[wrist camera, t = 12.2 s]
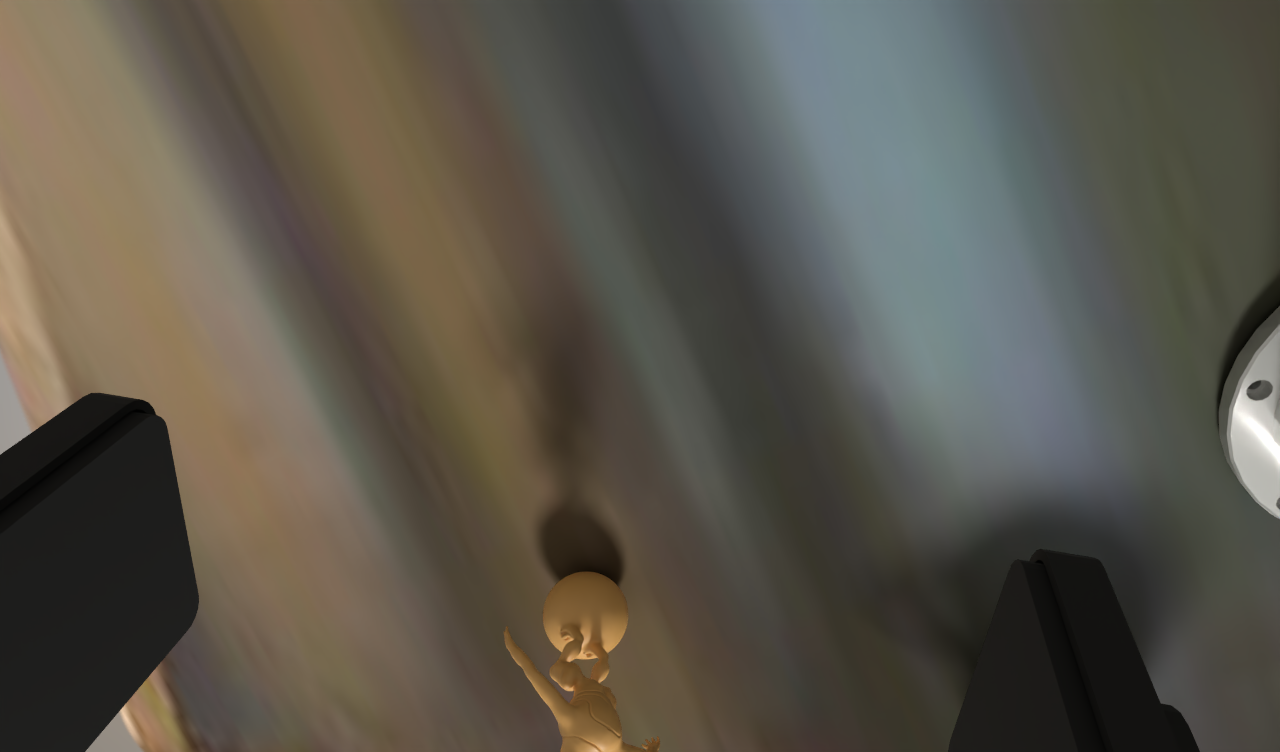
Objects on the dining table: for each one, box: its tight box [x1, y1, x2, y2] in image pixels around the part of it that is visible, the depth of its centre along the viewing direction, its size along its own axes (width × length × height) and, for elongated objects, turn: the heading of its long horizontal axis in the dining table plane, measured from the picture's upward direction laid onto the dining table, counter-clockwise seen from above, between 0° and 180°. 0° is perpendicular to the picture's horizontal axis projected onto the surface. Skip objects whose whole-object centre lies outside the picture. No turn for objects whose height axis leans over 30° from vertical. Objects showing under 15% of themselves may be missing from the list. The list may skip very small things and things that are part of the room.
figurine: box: [504, 572, 660, 752], centre depth 40 cm, size 8×6×12 cm
